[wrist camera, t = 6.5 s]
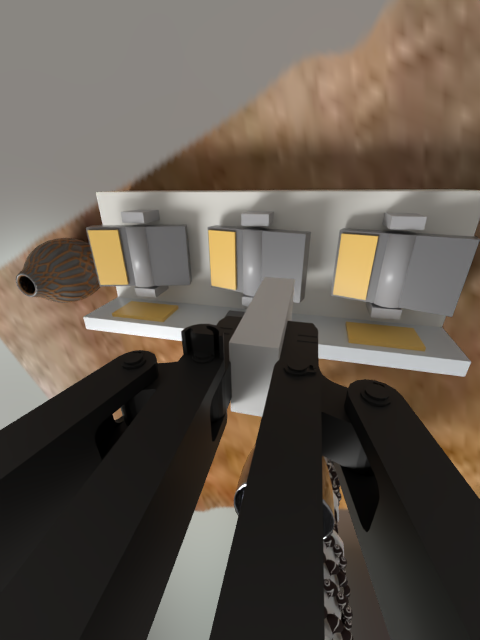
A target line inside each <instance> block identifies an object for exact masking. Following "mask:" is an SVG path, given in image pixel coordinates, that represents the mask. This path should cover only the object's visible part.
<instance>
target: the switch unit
mask: <svg viewBox="0 0 480 640" xmlns="http://www.w3.org/2000/svg"><path fill="white" fill-rule="evenodd" d="M96 196H97V201H98V205H99V210H100V215H101V219H102V224H103V225H137V224H147V225H180V224H187V230H188V241H189V253H190V264H191V275H192V282H191V284H190V285H167V286H151V287H137V286H116V289H117V294H118V297H117V298H116V299H114V300H112V301H110V302H109V303H107V304H105V305H103V306H102V307H100V308H98V309H96V310H95V311H93V312H91V313H89V314H88V315H86V316H84V317H83V318H84V321H85V325H86V328H87V329H92V330H100V331H108V332H115V333H123V334H131V335H139V336H147V337H155V338H163V339H171V340H179V341H182V336H181V331H182V330H183V329H185V328H186V327H189V326H192V325H196V324H212V325H217V323H218V322H219V321H220V320H221V319H223V318H225V317H226V316H235V317H243V316H244V314H245V312H246V310H247V308H248V307H249V305H250V303H251V301H252V299H253V296H247V295H245V294H244V293H241V292H236V291H231V290H225V289H220V288H215V287H211V278H210V261H209V244H208V227H210V226H214V225H221V226H236V227H262V228H269V229H279V230H294V231H308V232H311V238H310V248H309V258H308V268H307V278H306V288H305V298H304V299H303V300H302V301H301V302H300V303H295V302H293V308H292V321H296V322H306V323H313V324H314V325H315V326H316V328H317V329H318V358H321V359H329V360H337V361H344V362H352V363H360V364H368V365H376V366H384V367H392V368H400V369H408V370H415V371H423V372H431V373H439V374H447V375H455V376H463V377H465V375H466V373H467V371H468V368H469V366H470V364H471V361H470V360H469V359H468V357H467V356H466V355H465V354H464V353H463V352H462V350H461V349H460V348H459V347H458V346H457V344H456V343H455V342H454V341H453V340H452V338H451V337H450V336H449V335H448V334H447V333H446V331H445V330H444V329H443V328H442V326H443V323H444V320H445V317H446V316H444V315H438V314H433V313H427V312H421V311H415V310H410V309H404V308H387V307H382V306H379V305H376V304H374V303H370V302H364V301H358V300H353V299H347V298H341V297H336V296H330V295H331V288H332V281H333V274H334V267H335V260H336V253H337V246H338V239H339V232H340V230H341V229H343V228H349V229H365V230H381V231H409V232H416V233H428V234H444V235H460V236H474V234H475V231H476V228H477V225H478V222H479V219H480V190H464V189H379V190H168V191H111V192H96Z"/></svg>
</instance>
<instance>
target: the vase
mask: <svg viewBox="0 0 480 640" xmlns="http://www.w3.org/2000/svg"><path fill="white" fill-rule="evenodd" d="M16 283H17V286H18V288H19V289H20V290H21V292H23V293H24V294H25V295H27V296H30V297H40V298H43V299H47V300H50V301H54V302H60V303H68V302H75V301H79V300H82V299H85V298H87V297H89V296H90V295H92V294H93V293H95V292H96V291H97V290H98V289H99V288H100V287H101V286H100V285H99V281H98V277H97V273H96V269H95V265H94V260H93V256H92V252H91V248H90V244H89V243H87V242H85V241H82V240H79V239H73V238H59V239H54V240H50V241H47V242H45V243H43V244H41V245H39V246H38V247H36V248H35V249H34V250H33V251H32V252H31V253H30V254H29V256H28V257H27V259H26V262H25V264H24V267H23V269H22V271H21V272H20V273H19V274H18V275H17V277H16Z"/></svg>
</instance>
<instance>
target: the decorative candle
mask: <svg viewBox="0 0 480 640" xmlns="http://www.w3.org/2000/svg"><path fill="white" fill-rule="evenodd" d="M324 458H325V461H326V464H327V467H328V471H329V474H330V479H331V484H332V490H333V500H334V530H333V533H332V534H331V535H330V537H329V538H327V539H326V540H325V541H323V555H324V623H325V640H353V636H352V634H351V633H350V632H349V630H350V629H351V627H352V623H351V619H352V616H353V614H352V610H351V608H350V607H349V606H348V597H349V596H350V588H349V586H348V585H347V582H348V581H347V578H346V576H345V575H346V570H345V567H346V565H347V561H346V558H345V557H344V547H343V546H344V545H343V541H342V540H341V538H340V537H339V536H338V521H339V510H338V506H339V501H340V500H341V494H340V493H339V491H340V489H339V487H340V483H339V480H338V476H337V473H336V470H335V467H334V461H332V460H330V459H328V458H326V457H324ZM339 562H340V564H338V563H339ZM340 587H343V593H341V592H340V590H339V589H340ZM342 609H343V610H344V614H343V613H342V617H341V611H342Z"/></svg>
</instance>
